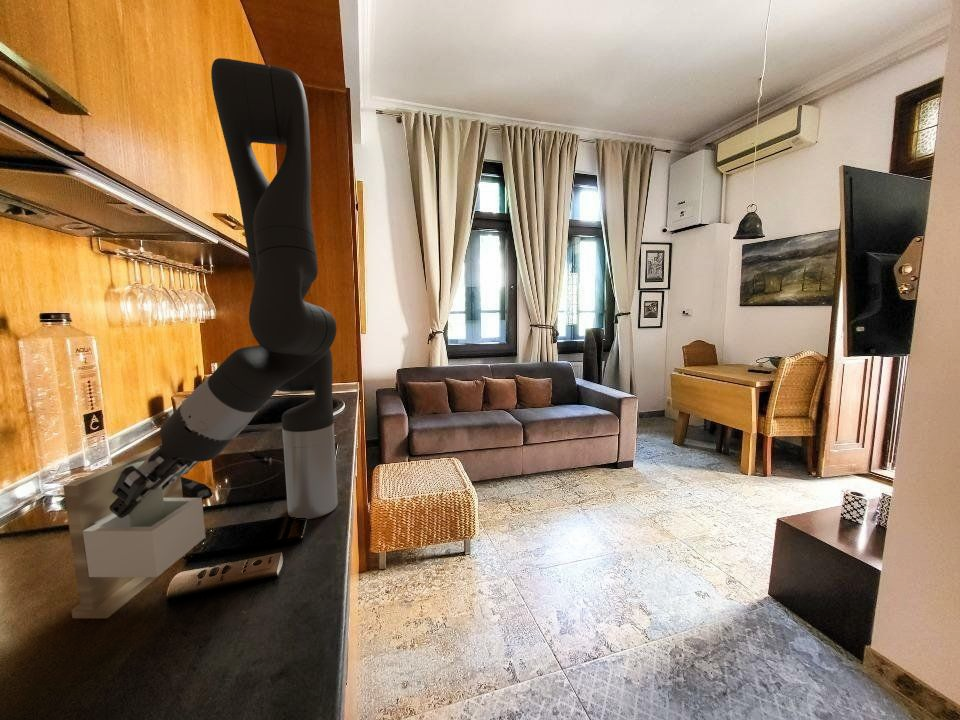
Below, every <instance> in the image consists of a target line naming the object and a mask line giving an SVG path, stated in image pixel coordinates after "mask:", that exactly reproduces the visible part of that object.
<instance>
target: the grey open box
mask: <svg viewBox="0 0 960 720" xmlns="http://www.w3.org/2000/svg"><path fill="white" fill-rule="evenodd" d="M163 499H164V508H165V518H163V519H162V520H160V521H159V522H157V523H156V524H154V525H152V526H151V527H131V526H130V518H129V514H128V515H127V516H125V517H123V518H119V517H118V516H117V515H115V514H114V513H111V514H109V515H108V516H106V517H104V518H102V519H100V520H98V521H97V522H95V523H94V525H93V526H91V527H89V528H87V529H86V530H84V531H83V537H84V544H85V551H86V558H87V565H88V573H89V577H157V578H159V576H161V575H162V574H164V572H166V571H167V570H168V569H169V568H170V567H172V566H173V565H174V564H175V563H176V562H178V561H179V560H180V559H181V558H182V557H184V556H185V555H186V554H187V553H189V552H190V551H191V550H192V549H193V548H194V546H195V547H196V546H197V545H199V543H201V542H202V541H203V540H204V539H205V538H206V529H205V518H204V517H205V515H204V507H203V506H204V505H203V500H202V498H191V497H183V498H163ZM189 550H190V551H189ZM188 551H189V552H188ZM183 555H184V556H183ZM177 560H178V561H177ZM172 564H173V565H172ZM171 565H172V566H171ZM166 569H167V570H166ZM160 574H161V575H160Z"/></svg>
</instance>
